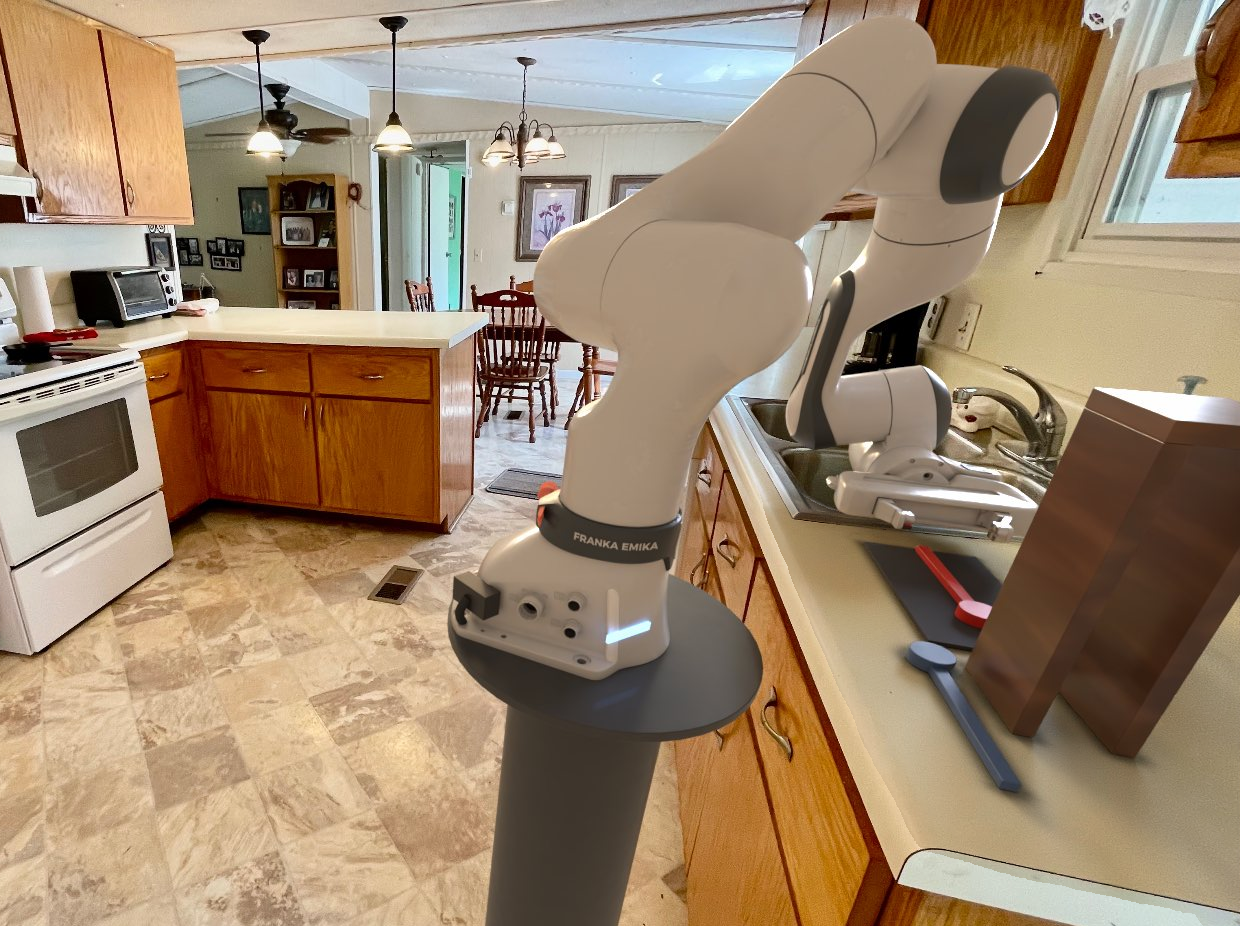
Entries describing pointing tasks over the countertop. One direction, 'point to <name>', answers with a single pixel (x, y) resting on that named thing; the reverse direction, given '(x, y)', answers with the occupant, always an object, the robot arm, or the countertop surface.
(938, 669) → the blue spoon
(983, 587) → the charcoal mat
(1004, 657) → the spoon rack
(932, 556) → the red spoon
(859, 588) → the countertop surface
